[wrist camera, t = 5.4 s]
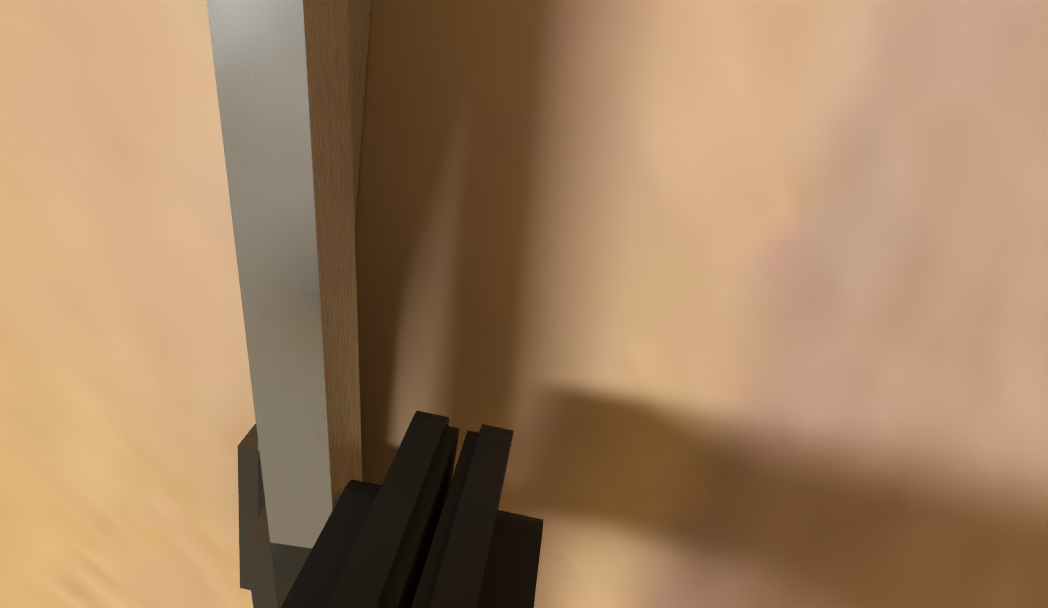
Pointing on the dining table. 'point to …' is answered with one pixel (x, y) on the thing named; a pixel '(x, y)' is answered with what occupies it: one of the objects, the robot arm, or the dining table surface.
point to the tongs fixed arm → (358, 52)
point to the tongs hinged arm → (293, 263)
